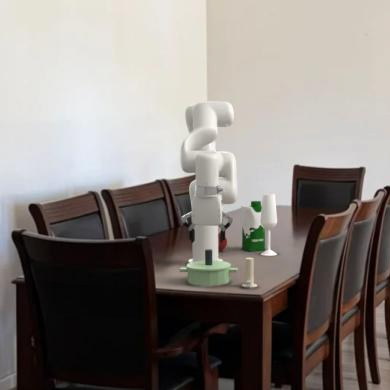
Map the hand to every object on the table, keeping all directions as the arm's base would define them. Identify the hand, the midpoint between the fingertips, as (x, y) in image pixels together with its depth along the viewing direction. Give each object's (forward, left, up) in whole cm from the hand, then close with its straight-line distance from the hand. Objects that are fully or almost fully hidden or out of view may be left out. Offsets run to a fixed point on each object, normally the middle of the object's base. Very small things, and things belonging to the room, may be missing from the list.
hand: (207, 242), depth 260 cm
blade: (+9, +15, -13) cm, 22 cm away
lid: (+3, +1, -8) cm, 8 cm away
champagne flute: (-49, +17, -13) cm, 54 cm away
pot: (+3, +1, -13) cm, 14 cm away
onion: (-54, -3, -13) cm, 56 cm away
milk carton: (-59, +10, -13) cm, 62 cm away
